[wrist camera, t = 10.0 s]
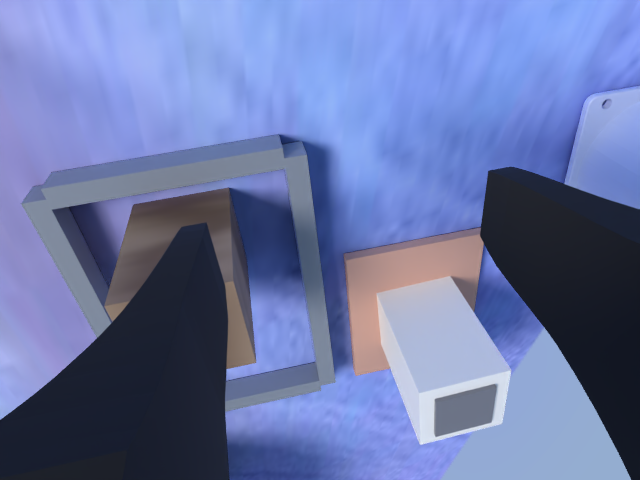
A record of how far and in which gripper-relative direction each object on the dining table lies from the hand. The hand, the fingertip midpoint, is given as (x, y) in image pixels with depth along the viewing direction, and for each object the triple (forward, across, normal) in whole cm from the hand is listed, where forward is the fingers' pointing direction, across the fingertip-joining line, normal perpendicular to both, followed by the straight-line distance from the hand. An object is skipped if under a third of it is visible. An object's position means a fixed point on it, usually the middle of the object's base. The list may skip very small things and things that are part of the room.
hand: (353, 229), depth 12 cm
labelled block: (+10, -6, +14) cm, 18 cm away
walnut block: (+10, +6, +6) cm, 14 cm away
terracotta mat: (+10, -6, +14) cm, 18 cm away
